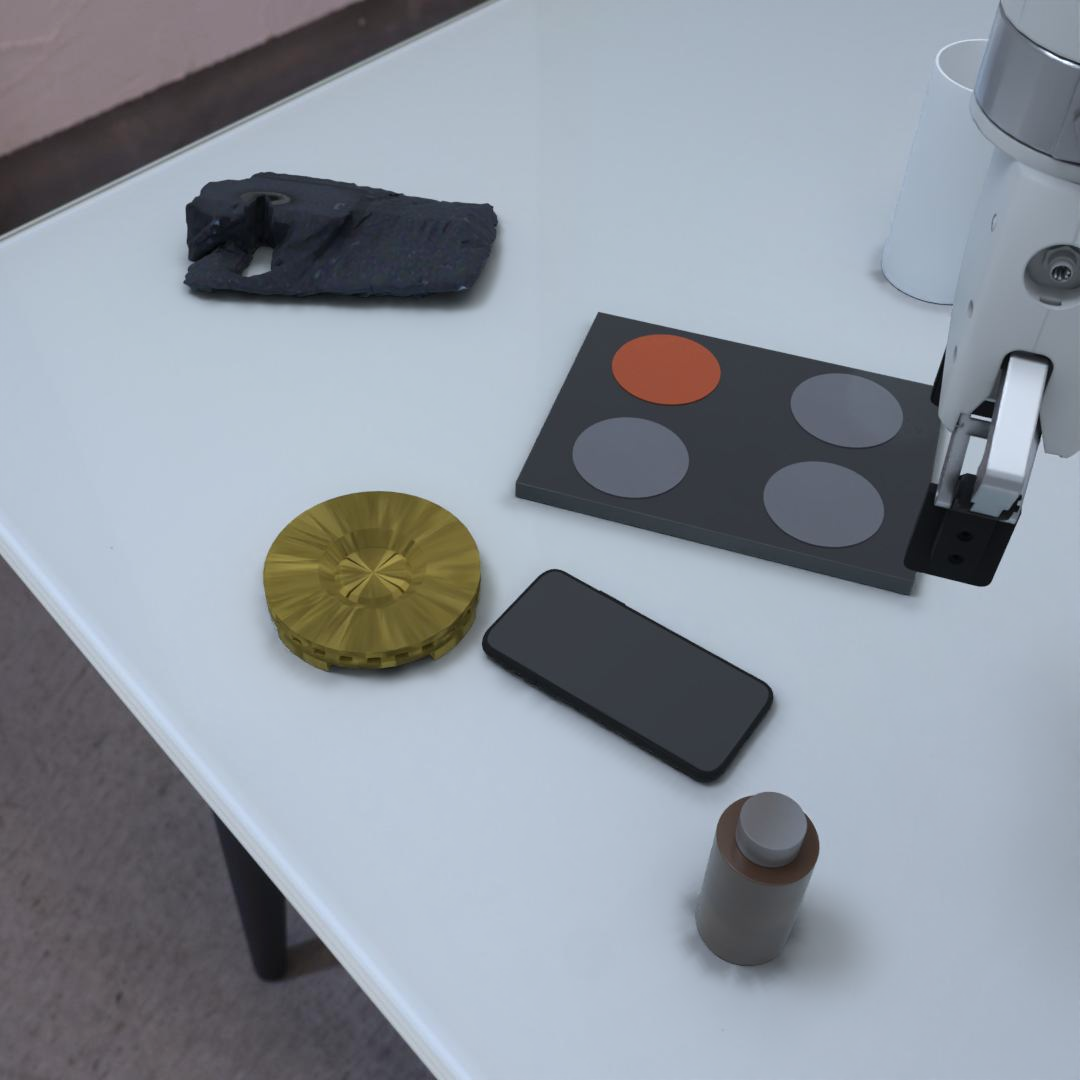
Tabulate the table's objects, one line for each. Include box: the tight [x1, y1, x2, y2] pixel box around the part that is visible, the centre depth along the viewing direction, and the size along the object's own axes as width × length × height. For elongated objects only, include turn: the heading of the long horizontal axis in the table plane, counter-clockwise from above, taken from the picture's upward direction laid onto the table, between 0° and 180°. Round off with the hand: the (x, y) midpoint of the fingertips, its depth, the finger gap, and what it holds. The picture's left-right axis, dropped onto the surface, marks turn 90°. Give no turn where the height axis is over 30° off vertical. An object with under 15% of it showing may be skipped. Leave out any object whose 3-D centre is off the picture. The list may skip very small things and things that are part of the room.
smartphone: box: [481, 568, 774, 783], centre depth 70 cm, size 7×1×15 cm
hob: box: [514, 311, 942, 596], centre depth 83 cm, size 24×18×1 cm
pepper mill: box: [695, 791, 821, 967], centre depth 58 cm, size 4×4×9 cm
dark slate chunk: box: [182, 171, 499, 299], centre depth 95 cm, size 15×22×5 cm
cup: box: [880, 38, 995, 305], centre depth 92 cm, size 8×8×16 cm
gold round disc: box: [262, 490, 482, 672], centre depth 74 cm, size 12×12×2 cm
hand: (956, 485), depth 52 cm, fingers open, 9 cm apart
